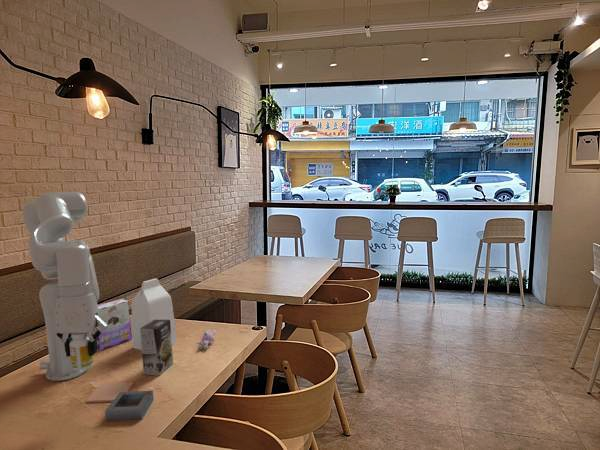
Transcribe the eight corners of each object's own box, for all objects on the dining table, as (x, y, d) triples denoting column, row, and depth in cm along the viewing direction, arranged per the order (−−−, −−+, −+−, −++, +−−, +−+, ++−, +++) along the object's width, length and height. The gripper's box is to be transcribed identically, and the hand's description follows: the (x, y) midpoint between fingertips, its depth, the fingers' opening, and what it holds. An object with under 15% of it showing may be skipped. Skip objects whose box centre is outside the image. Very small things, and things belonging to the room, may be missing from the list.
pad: (86, 402, 121) (85, 400, 121) (101, 385, 131) (101, 383, 130) (120, 401, 121) (120, 399, 121) (133, 384, 131) (133, 382, 131)
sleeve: (106, 420, 111) (105, 410, 111) (120, 401, 121) (119, 391, 120) (142, 419, 111) (141, 409, 111) (153, 400, 121) (152, 390, 120)
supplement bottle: (96, 360, 116) (93, 327, 115) (90, 369, 111) (87, 334, 110) (75, 362, 115) (72, 329, 114) (68, 371, 110) (65, 336, 109)
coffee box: (160, 376, 136) (156, 329, 134) (142, 374, 137) (139, 328, 135) (174, 363, 145) (171, 319, 143) (157, 362, 146) (154, 318, 144)
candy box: (125, 336, 171) (122, 298, 169) (132, 339, 167) (129, 300, 166) (91, 347, 161) (87, 306, 159) (98, 351, 157) (94, 309, 155)
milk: (152, 353, 153) (147, 285, 150) (132, 347, 159) (127, 282, 156) (177, 342, 164) (172, 278, 160) (157, 336, 170) (153, 275, 166)
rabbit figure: (210, 355, 154) (220, 333, 168) (208, 341, 152) (219, 320, 166) (193, 355, 154) (205, 333, 168) (192, 341, 152) (203, 320, 167)
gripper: (35, 294, 107) (42, 361, 109) (100, 292, 107) (106, 359, 109) (52, 287, 114) (58, 349, 117) (113, 285, 114) (119, 347, 116)
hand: (81, 353), depth 113 cm, fingers closed on supplement bottle, 5 cm apart
